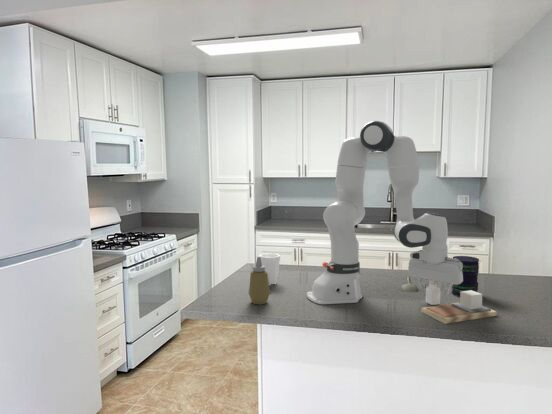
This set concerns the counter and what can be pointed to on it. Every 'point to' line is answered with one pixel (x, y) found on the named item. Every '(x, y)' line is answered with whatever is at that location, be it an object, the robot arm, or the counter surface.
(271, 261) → the foam cup
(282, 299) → the counter surface
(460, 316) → the oak board
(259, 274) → the squeeze bottle
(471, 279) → the storage jar
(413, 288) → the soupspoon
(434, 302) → the pepper shaker
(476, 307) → the cream block
